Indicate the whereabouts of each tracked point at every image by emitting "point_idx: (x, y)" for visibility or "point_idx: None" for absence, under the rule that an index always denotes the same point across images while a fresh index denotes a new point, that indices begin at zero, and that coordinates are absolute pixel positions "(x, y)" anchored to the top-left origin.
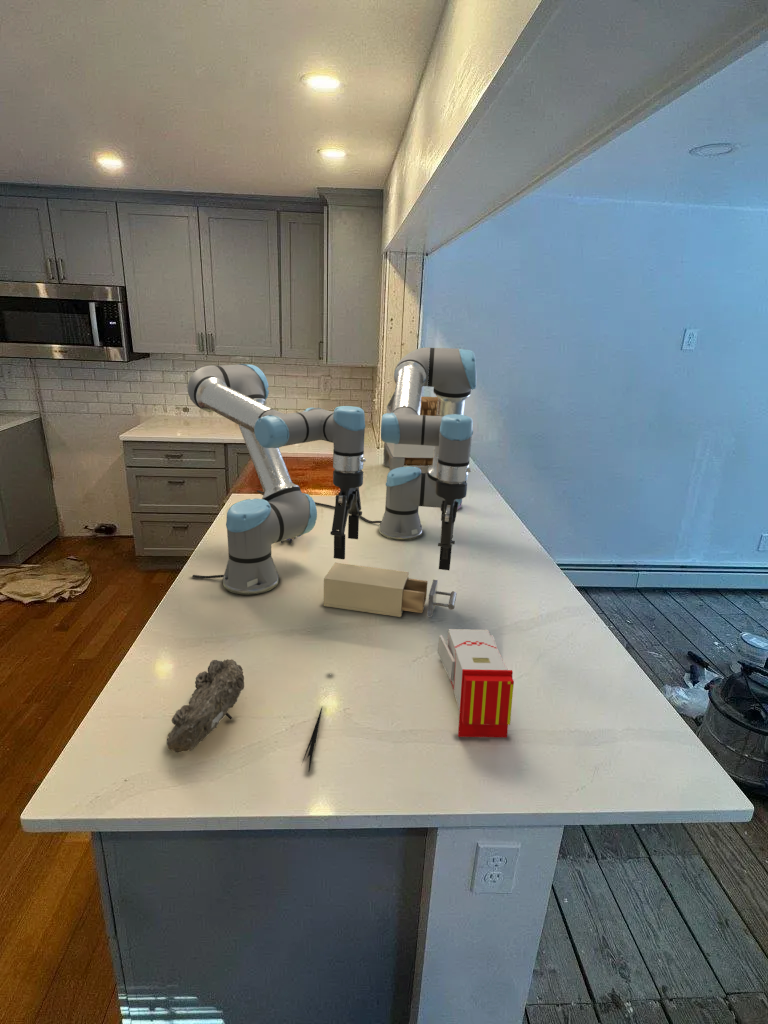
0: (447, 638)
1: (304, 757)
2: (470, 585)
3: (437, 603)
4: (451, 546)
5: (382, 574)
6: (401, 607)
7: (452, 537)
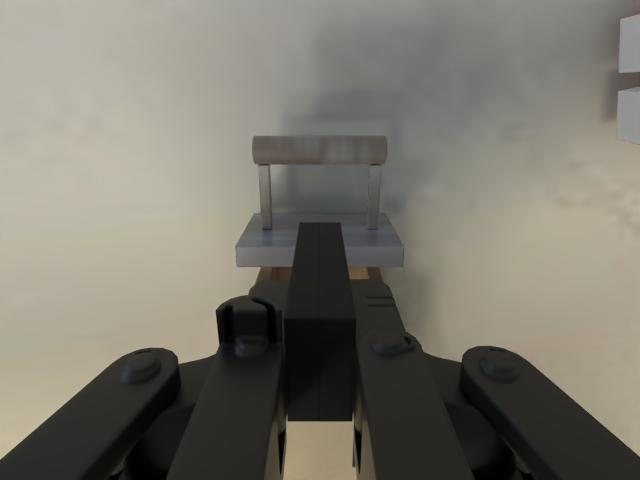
0: (621, 139)
1: None
2: (27, 78)
3: (376, 212)
4: (337, 318)
5: (295, 464)
6: None
7: (159, 360)
